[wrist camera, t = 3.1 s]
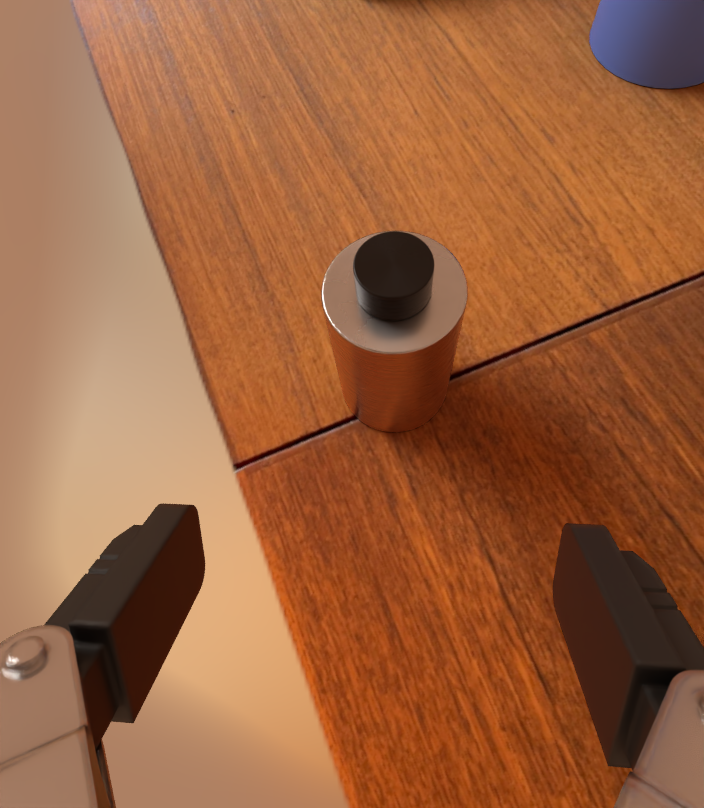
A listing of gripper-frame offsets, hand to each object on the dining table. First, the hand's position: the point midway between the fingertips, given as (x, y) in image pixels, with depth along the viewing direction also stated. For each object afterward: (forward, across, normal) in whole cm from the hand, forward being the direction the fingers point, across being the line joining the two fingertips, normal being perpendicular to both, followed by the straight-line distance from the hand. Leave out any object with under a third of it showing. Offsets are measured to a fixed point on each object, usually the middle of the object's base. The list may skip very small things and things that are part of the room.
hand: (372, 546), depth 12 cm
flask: (+16, 0, +2) cm, 16 cm away
